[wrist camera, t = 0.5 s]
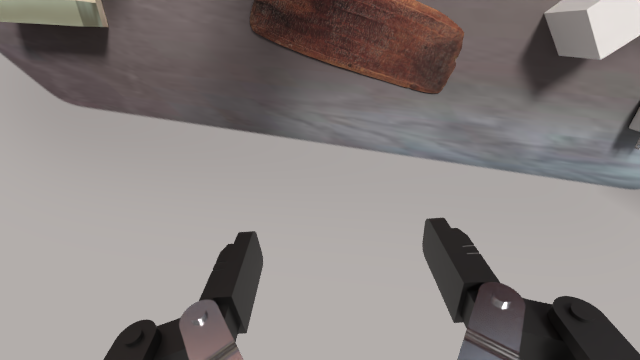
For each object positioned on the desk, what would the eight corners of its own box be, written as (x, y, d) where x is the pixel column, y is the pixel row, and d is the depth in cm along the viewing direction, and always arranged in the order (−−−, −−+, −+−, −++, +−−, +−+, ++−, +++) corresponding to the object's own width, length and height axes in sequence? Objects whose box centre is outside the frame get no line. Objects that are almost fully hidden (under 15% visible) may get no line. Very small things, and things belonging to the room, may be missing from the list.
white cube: (609, 21, 33) (664, 20, 28) (558, 55, 35) (600, 60, 30) (597, -26, 31) (655, -38, 25) (543, 13, 32) (586, 9, 27)
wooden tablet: (481, 27, 32) (440, 107, 36) (471, 29, 34) (433, 105, 38) (266, -73, 28) (243, 30, 32) (269, -63, 30) (247, 32, 34)
